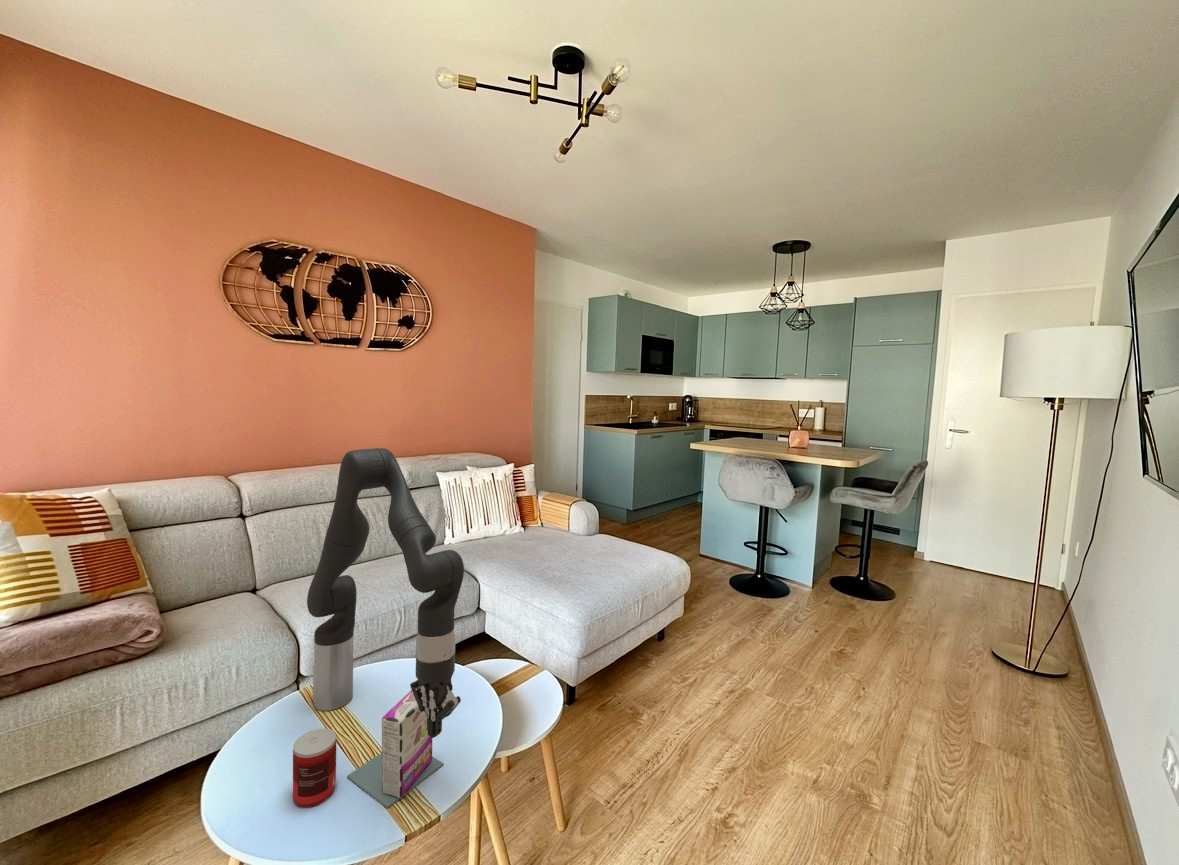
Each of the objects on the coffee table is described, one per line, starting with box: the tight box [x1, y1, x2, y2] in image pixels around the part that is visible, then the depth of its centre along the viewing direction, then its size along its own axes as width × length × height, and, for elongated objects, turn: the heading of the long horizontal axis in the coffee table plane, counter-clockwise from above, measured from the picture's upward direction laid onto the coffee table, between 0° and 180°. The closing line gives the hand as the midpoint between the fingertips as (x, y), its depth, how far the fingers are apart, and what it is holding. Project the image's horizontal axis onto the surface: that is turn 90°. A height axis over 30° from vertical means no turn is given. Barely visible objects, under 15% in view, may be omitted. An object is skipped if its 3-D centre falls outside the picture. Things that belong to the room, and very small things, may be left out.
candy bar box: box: [381, 689, 433, 799], centre depth 101 cm, size 11×5×16 cm, turn 165°
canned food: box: [292, 727, 337, 808], centre depth 96 cm, size 8×8×11 cm
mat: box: [346, 752, 444, 809], centre depth 103 cm, size 14×14×1 cm
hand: (434, 734), depth 96 cm, fingers closed
